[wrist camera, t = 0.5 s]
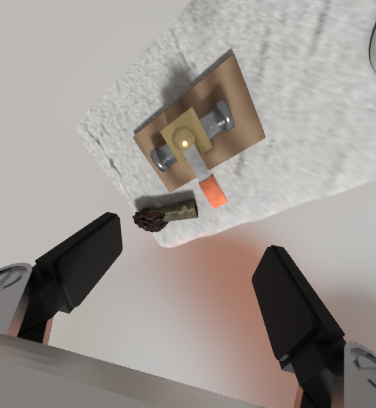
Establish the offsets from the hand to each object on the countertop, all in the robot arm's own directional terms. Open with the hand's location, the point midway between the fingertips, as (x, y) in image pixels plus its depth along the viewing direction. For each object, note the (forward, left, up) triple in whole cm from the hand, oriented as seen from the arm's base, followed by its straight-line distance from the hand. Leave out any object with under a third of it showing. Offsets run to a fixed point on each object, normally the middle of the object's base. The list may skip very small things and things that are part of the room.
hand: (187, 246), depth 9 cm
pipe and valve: (-1, -7, -26) cm, 27 cm away
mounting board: (-2, -7, -27) cm, 28 cm away
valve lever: (-1, -2, -18) cm, 18 cm away
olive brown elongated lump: (+15, +5, -27) cm, 31 cm away
